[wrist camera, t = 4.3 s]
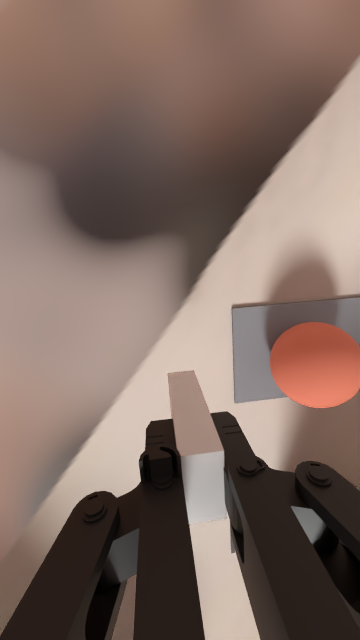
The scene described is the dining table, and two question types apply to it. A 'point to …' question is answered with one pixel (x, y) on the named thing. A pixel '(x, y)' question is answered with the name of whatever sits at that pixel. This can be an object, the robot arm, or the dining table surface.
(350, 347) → the ball
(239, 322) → the plate
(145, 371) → the dining table surface
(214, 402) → the dining table surface
